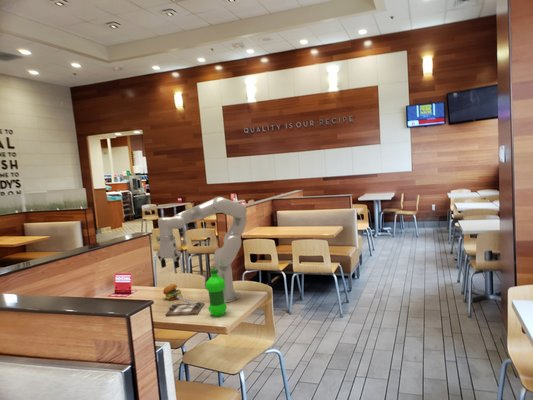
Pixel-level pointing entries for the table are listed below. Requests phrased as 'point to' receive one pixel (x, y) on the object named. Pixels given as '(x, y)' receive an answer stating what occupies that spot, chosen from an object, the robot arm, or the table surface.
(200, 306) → the ticket board
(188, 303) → the hold down bar
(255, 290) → the table surface
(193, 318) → the table surface
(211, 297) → the plastic bottle
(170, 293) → the cheeseburger
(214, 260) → the robot arm
